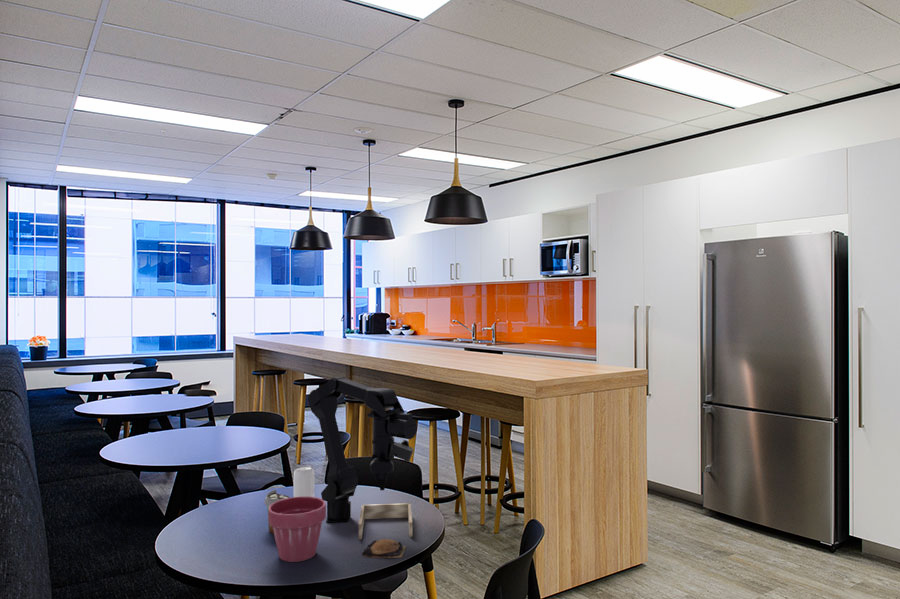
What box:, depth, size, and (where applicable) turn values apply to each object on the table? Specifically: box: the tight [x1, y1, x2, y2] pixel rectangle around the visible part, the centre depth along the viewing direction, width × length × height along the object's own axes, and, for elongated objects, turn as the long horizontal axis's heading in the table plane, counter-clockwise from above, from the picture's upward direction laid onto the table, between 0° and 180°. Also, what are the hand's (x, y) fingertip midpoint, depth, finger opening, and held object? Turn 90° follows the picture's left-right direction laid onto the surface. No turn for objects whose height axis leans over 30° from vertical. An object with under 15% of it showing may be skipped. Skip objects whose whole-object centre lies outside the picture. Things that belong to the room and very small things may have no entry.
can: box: [293, 465, 315, 497], centre depth 195 cm, size 6×6×12 cm
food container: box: [264, 489, 291, 535], centre depth 172 cm, size 12×6×10 cm, turn 48°
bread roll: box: [361, 538, 407, 559], centre depth 158 cm, size 11×8×4 cm
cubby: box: [358, 502, 413, 540], centre depth 175 cm, size 15×17×4 cm
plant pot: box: [267, 496, 327, 563], centre depth 156 cm, size 14×14×13 cm
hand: (382, 489), depth 172 cm, fingers closed
